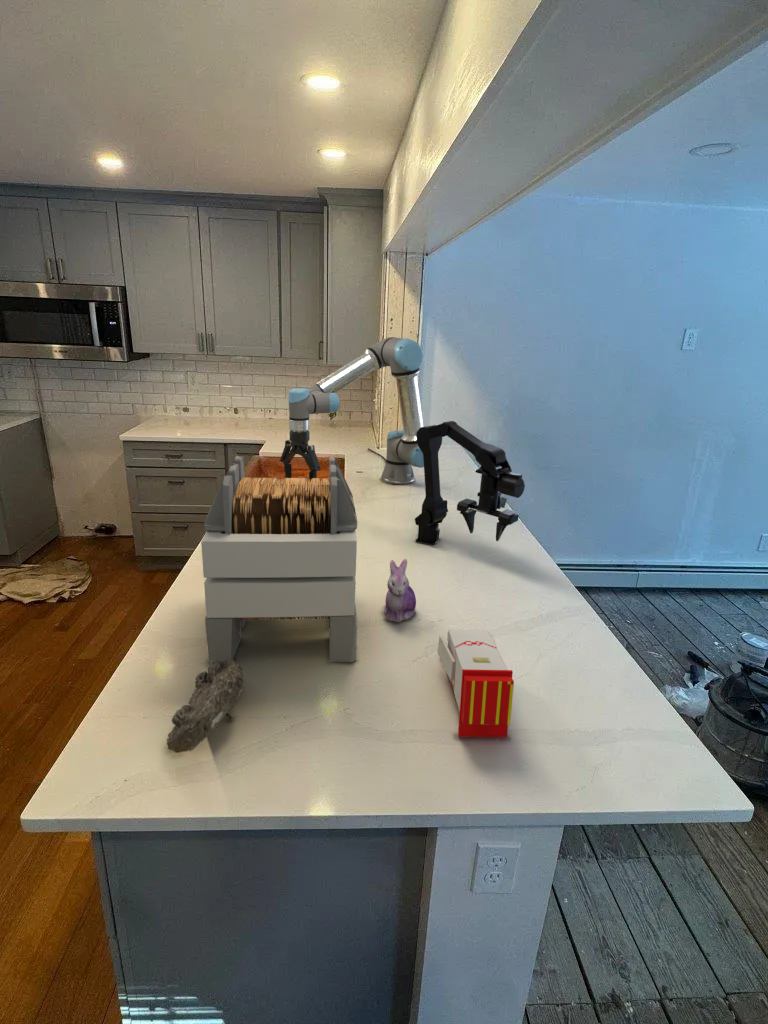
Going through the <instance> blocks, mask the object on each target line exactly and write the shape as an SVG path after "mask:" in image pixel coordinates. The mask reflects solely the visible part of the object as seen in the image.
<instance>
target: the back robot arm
mask: <svg viewBox="0 0 768 1024" xmlns="http://www.w3.org/2000/svg"><path fill="white" fill-rule="evenodd" d="M423 361H424V351H423V348H422V346H421V345H420V344H419V343H418V342H417V341H416V340H413V339H410V338H405V337H395V336H394V337H393V336H391V337H385V338H384V339H381V340H379V341H378V342H375V343H374V344H372V345H371V346H369V347H368V348H366V349H365V350H363V354H361V355H359V356H358V357H356V358H354V359H353V360H351V361H350V362H348V363H347V364H345V365H343V366H342V367H340V368H337V370H335V371H333V372H332V373H330V374H329V375H327V376H326V377H324V378H322V379H320V380H318V382H316V383H314V384H312V385H311V386H305V387H301V388H300V387H297V388H291V389H289V391H288V401H287V402H288V414H289V415H288V418H289V419H288V430H289V439H285V442H284V448H283V450H282V453H281V456H280V459H279V461H280V463H282V464H283V470H284V479H285V478H293V477H292V473H293V471H292V460H293V459H294V457H295V456H296V455H299V456H301V457H302V458H303V459H304V462H305V463H306V465H307V467H308V469H309V470H310V471H309V472H308V481H309V480H310V482H311V479H312V478H318V477H317V474H318V473H317V472H320V471H321V470H322V468H321V465H320V463H319V459H318V456H317V453H316V448H315V445H314V444H312V445H310V444H309V442H310V439H311V438H310V437H311V436H310V415H317V414H333V413H336V412H338V411H339V410H340V398H339V395H338V394H337V393H339V392H340V391H342V390H344V389H345V388H346V387H349V386H350V385H352V384H353V383H355V382H357V381H358V380H359V379H361V378H363V377H364V376H366V375H367V374H368V375H369V373H371V372H373V371H375V372H376V371H379V370H380V369H383V368H386V367H390V372H391V377H393V378H394V379H395V381H396V388H397V395H398V402H399V409H400V416H401V422H402V429H403V430H391V431H389V432H388V433H387V437H386V458H385V457H384V456H383V455H382V454H380V453H378V452H376V451H374V450H373V449H371V448H370V447H369V448H367V450H368V451H370V452H371V453H374V454H375V455H377V456H379V457H381V458H382V459H383V460H384V462H385V465H384V468H383V471H382V472H381V473H382V474H381V481H382V482H384V483H386V484H390V485H395V486H396V485H401V486H402V485H403V486H404V485H411V484H413V483H414V482H415V480H416V479H415V474H414V469H413V468H415V467H416V468H420V469H423V468H424V460H423V453H422V451H421V450H420V448H419V446H418V442H417V437H416V433H417V431H418V430H419V428H421V427H424V421H423V413H422V405H421V398H420V391H419V390H420V389H419V383H418V374H419V373H420V371H421V368H420V367H421V366H422V363H423Z"/></svg>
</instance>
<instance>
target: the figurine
mask: <svg viewBox="0 0 768 1024" xmlns="http://www.w3.org/2000/svg"><path fill="white" fill-rule="evenodd" d="M407 567H408V559H406V558H404V559H403V560H402V561H401V563H400V565H399V566H398V565H397V563H396V562H395V561H394V560H393V559H391V560H390V561H389V570H390V576H389V578H388V579H387V589H388V591H387V592H386V594H385V595H386V596H385V607H384V615H385V616H386V620H387V621H391V622H395V623H400V622H402V621H406V620H409V619H410V618H411V617H413V616H414V615H415V610H416V606H417V597H416V593H415V591H414V590H413V587H411V586H410V582H409V579H408V577H407V574H406V571H407Z"/></svg>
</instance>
